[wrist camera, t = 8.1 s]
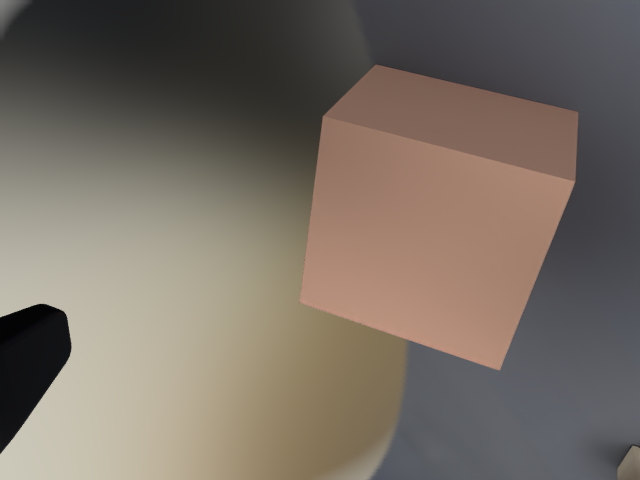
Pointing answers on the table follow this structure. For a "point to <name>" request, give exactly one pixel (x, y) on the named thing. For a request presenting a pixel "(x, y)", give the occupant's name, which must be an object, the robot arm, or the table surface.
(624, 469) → the open wooden frame
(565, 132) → the terracotta block
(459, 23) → the table surface
